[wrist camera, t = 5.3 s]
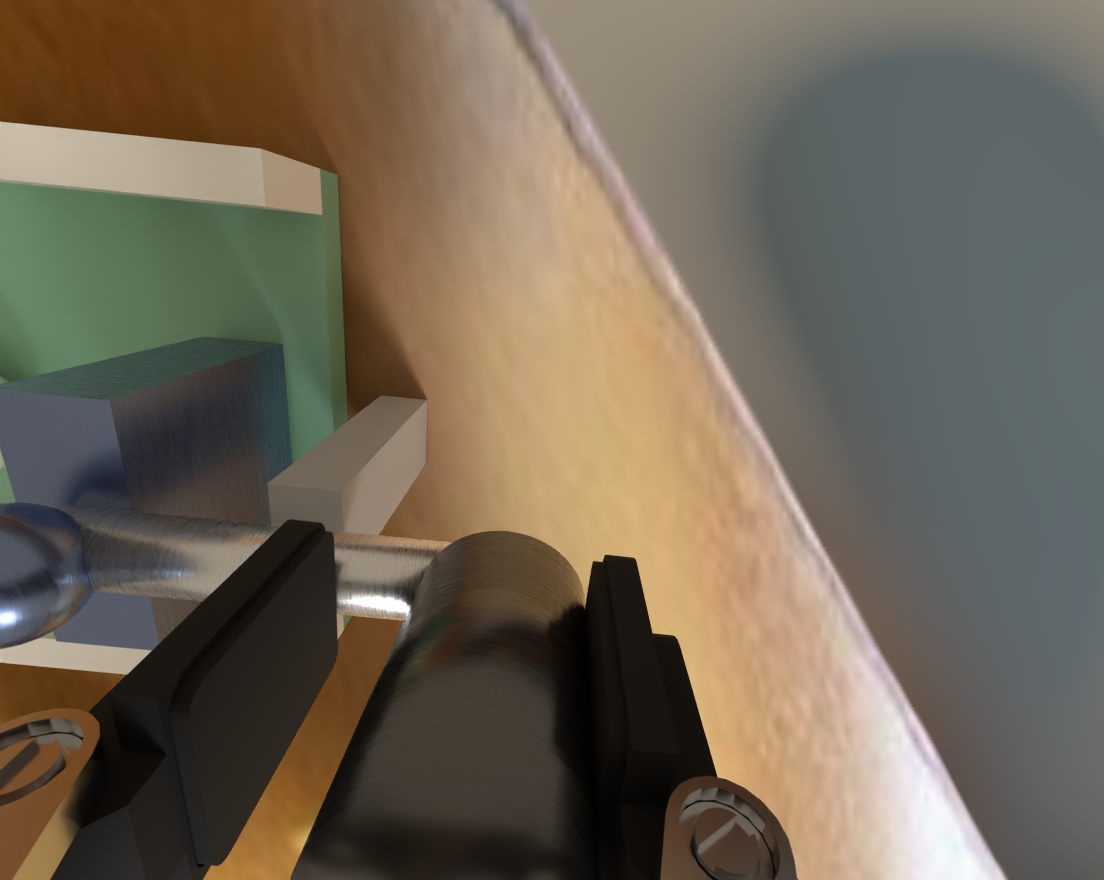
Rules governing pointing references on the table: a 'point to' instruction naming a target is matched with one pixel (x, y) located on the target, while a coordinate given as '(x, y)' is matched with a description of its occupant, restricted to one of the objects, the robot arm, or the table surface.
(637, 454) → the table surface
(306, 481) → the pitch
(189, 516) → the table football player
